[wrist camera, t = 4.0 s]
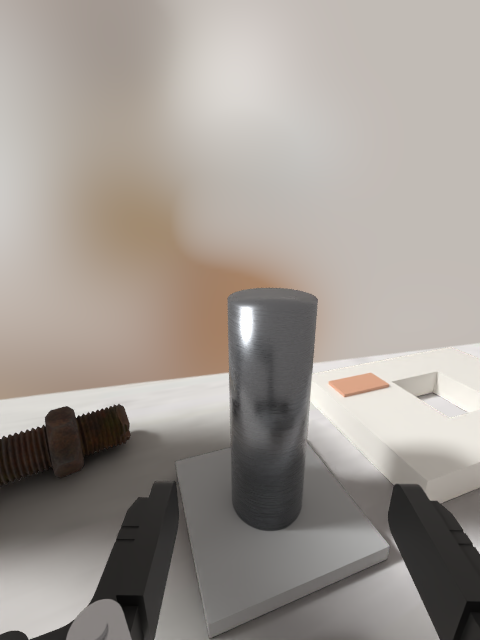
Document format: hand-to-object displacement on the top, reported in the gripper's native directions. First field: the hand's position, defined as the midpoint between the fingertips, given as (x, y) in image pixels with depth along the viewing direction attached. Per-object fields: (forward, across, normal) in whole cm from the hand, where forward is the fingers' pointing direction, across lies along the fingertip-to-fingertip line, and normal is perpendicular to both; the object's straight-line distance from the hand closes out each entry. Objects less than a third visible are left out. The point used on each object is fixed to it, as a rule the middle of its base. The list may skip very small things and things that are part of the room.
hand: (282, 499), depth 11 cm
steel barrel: (+6, 0, +7) cm, 9 cm away
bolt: (+8, +17, +8) cm, 21 cm away
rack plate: (+16, -17, +8) cm, 25 cm away
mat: (+6, 0, +8) cm, 10 cm away
